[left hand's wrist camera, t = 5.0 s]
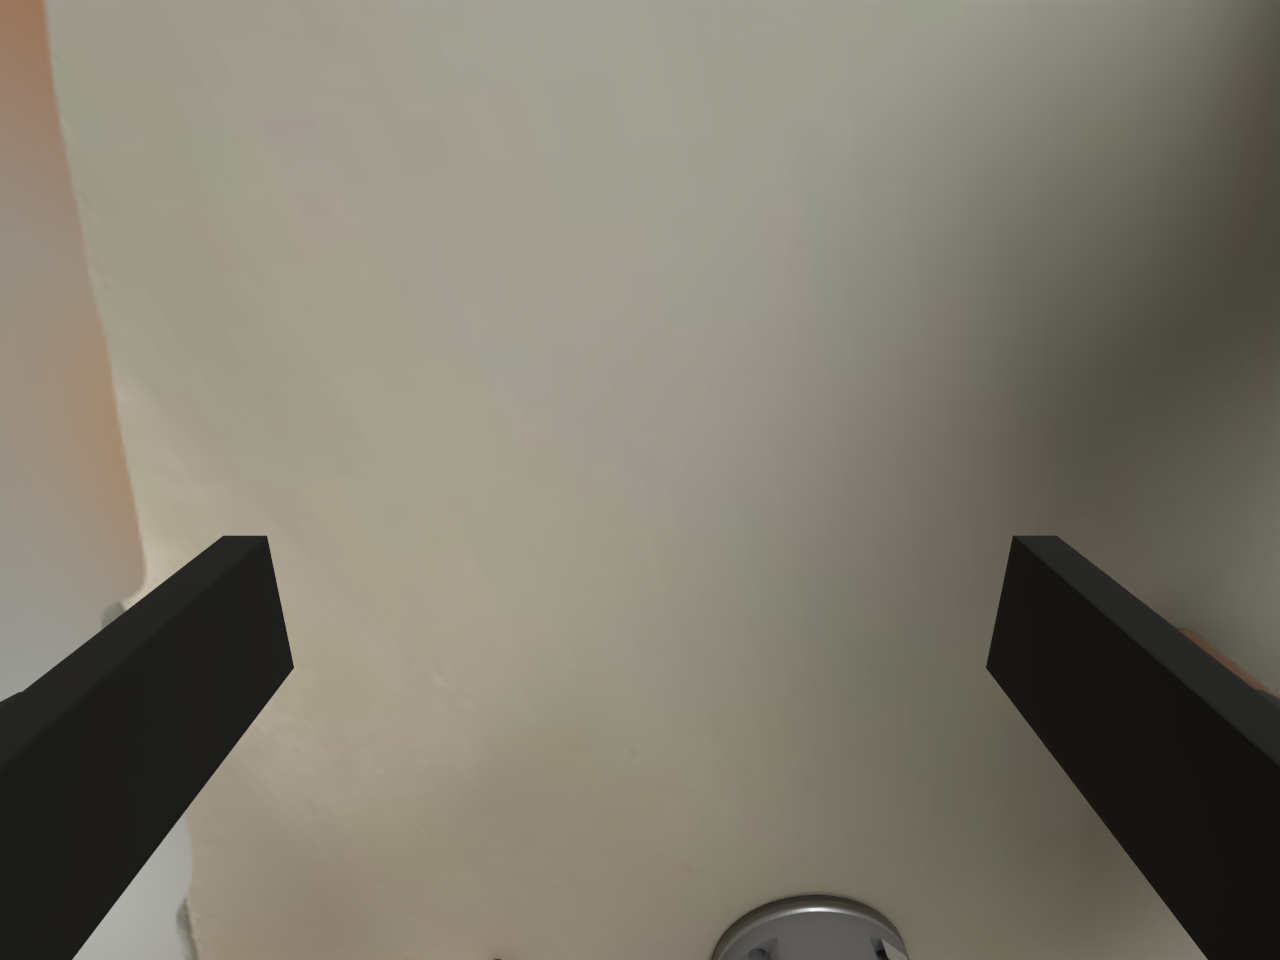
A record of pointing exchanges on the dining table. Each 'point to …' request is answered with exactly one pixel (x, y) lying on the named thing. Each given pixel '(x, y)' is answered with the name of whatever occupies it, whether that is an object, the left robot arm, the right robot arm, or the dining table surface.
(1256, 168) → the dining table surface
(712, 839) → the dining table surface
